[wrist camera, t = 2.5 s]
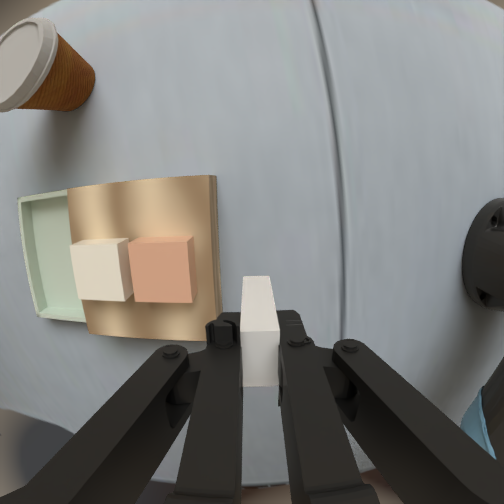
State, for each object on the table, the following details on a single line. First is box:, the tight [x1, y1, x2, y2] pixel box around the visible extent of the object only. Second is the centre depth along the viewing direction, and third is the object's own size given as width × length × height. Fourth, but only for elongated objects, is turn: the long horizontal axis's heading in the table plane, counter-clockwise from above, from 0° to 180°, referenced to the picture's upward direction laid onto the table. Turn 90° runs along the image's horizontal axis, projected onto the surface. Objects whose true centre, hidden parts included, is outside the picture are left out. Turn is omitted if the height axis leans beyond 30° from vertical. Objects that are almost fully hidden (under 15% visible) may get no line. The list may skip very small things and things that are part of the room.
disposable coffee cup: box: [0, 18, 95, 112], centre depth 20 cm, size 10×10×12 cm
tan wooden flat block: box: [67, 175, 223, 341], centre depth 28 cm, size 14×15×5 cm
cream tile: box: [70, 238, 134, 301], centre depth 24 cm, size 5×5×2 cm
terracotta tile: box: [128, 236, 197, 303], centre depth 24 cm, size 5×5×2 cm
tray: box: [18, 190, 86, 322], centre depth 29 cm, size 10×15×2 cm, turn 1°
